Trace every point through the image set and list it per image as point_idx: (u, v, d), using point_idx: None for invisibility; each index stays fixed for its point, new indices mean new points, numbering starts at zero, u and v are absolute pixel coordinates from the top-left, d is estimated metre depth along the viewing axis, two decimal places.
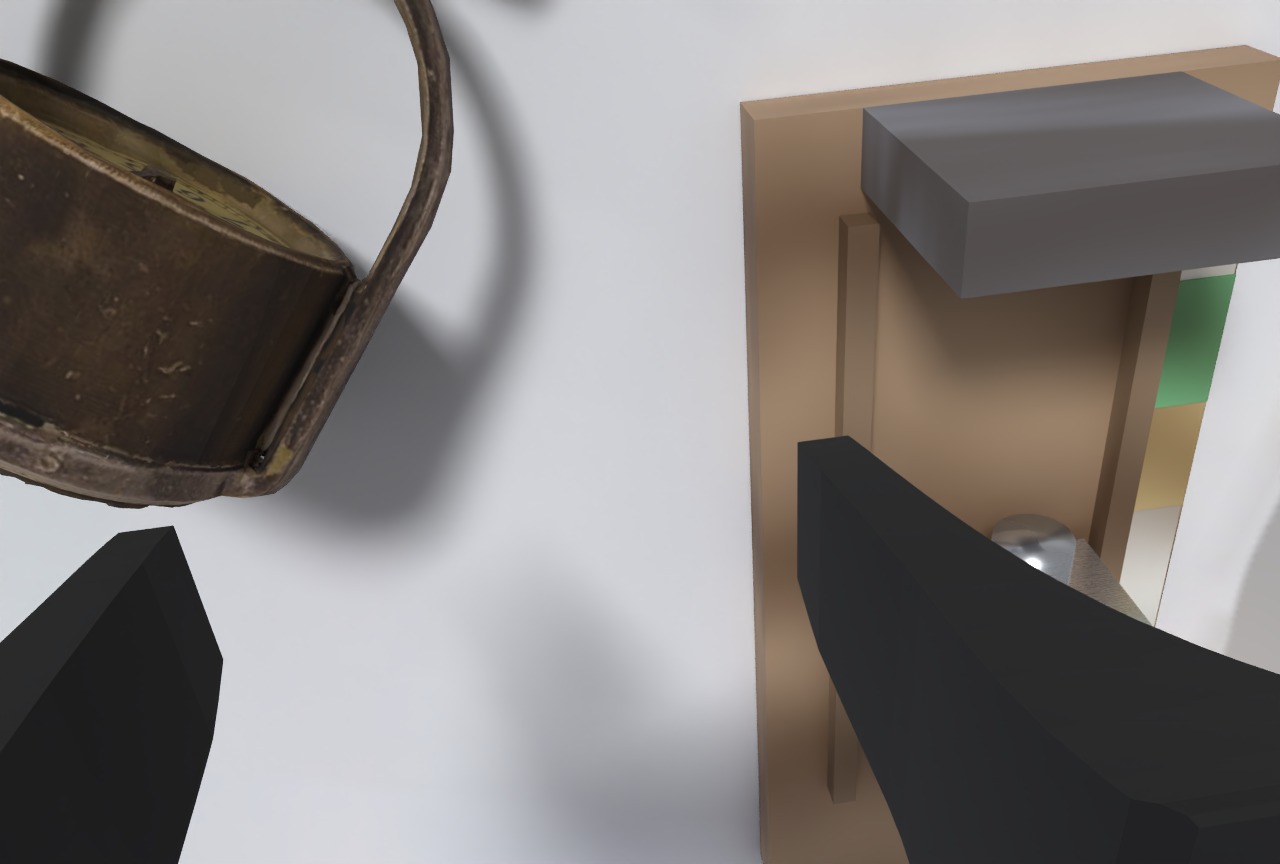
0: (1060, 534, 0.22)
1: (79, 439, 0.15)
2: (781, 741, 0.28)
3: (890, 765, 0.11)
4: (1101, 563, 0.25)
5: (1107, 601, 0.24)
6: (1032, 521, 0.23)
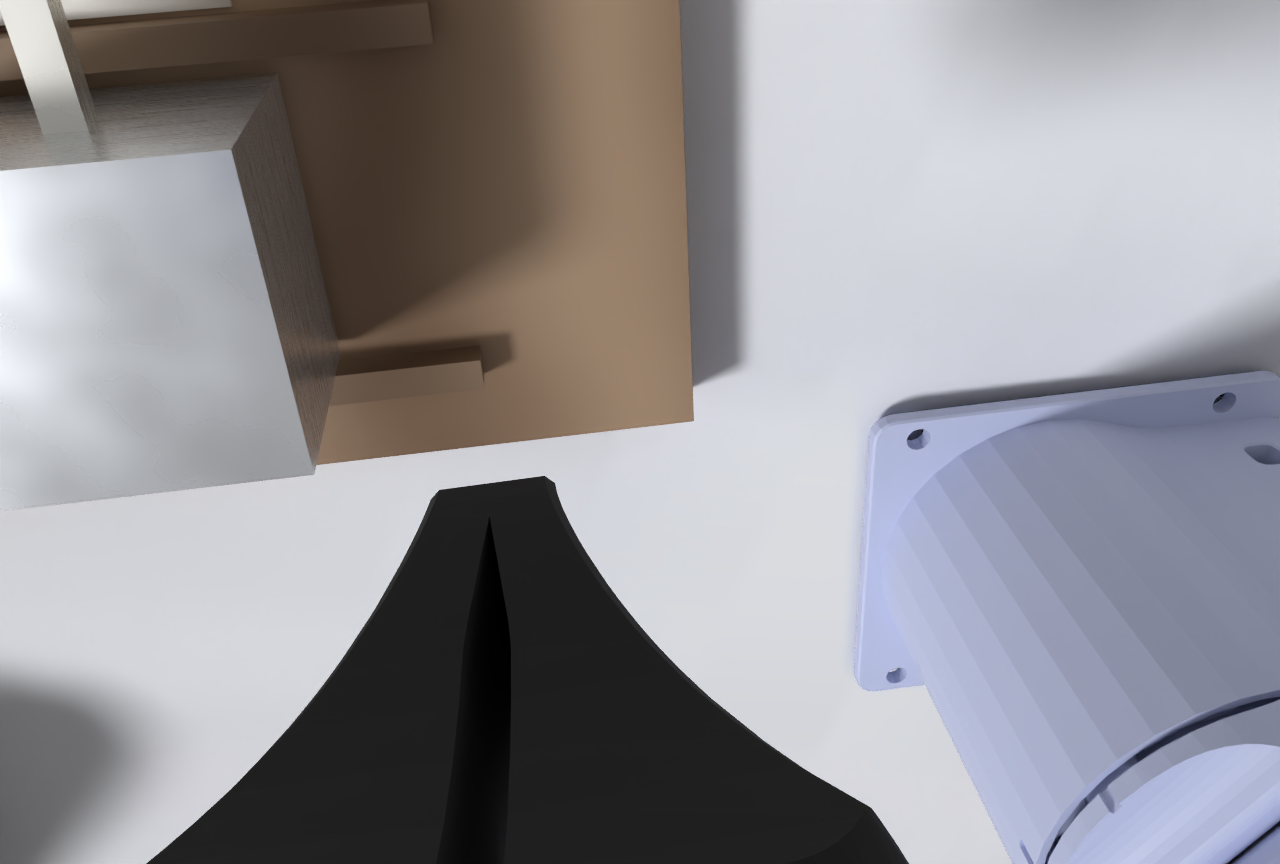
0: None
1: None
2: (390, 439, 0.21)
3: None
4: None
5: None
6: None
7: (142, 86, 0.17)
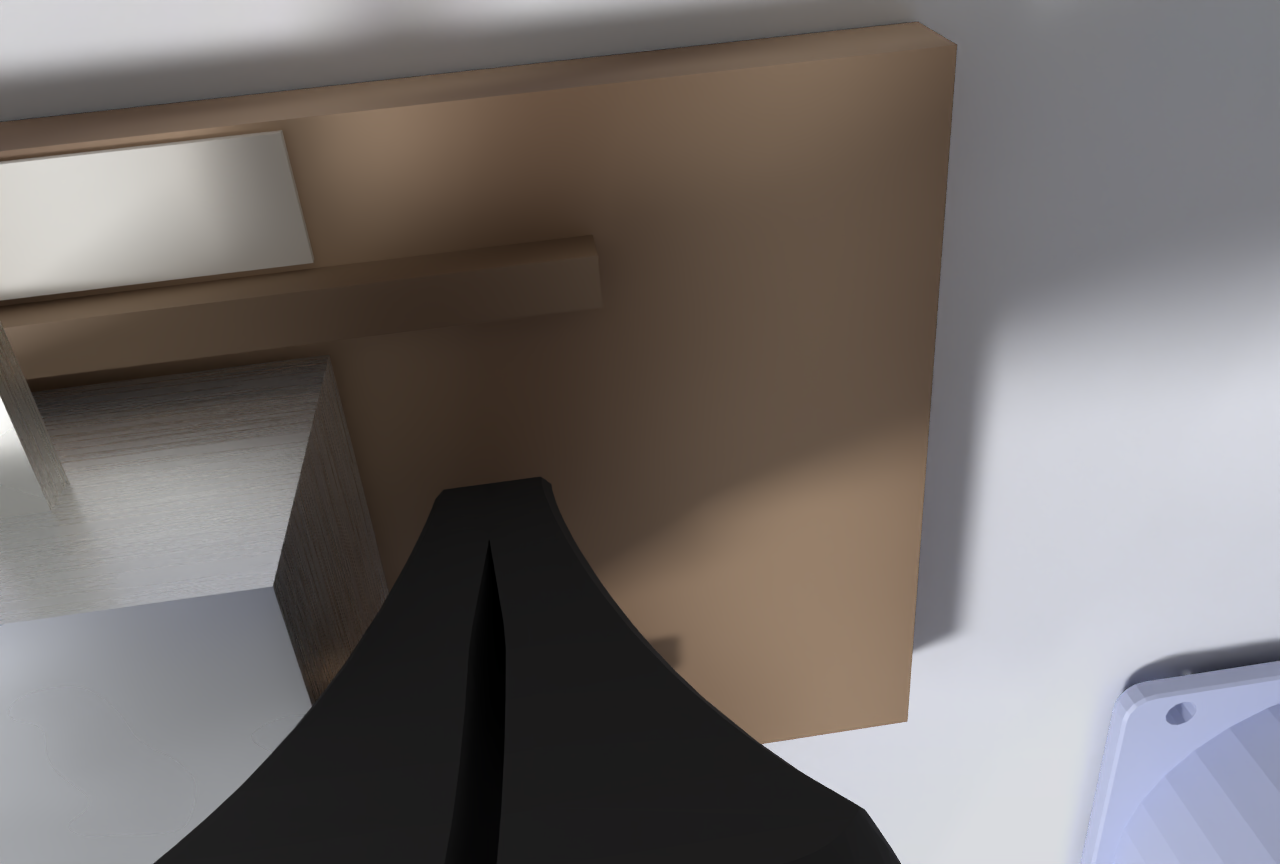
0: None
1: None
2: None
3: None
4: None
5: None
6: None
7: (136, 384, 0.12)
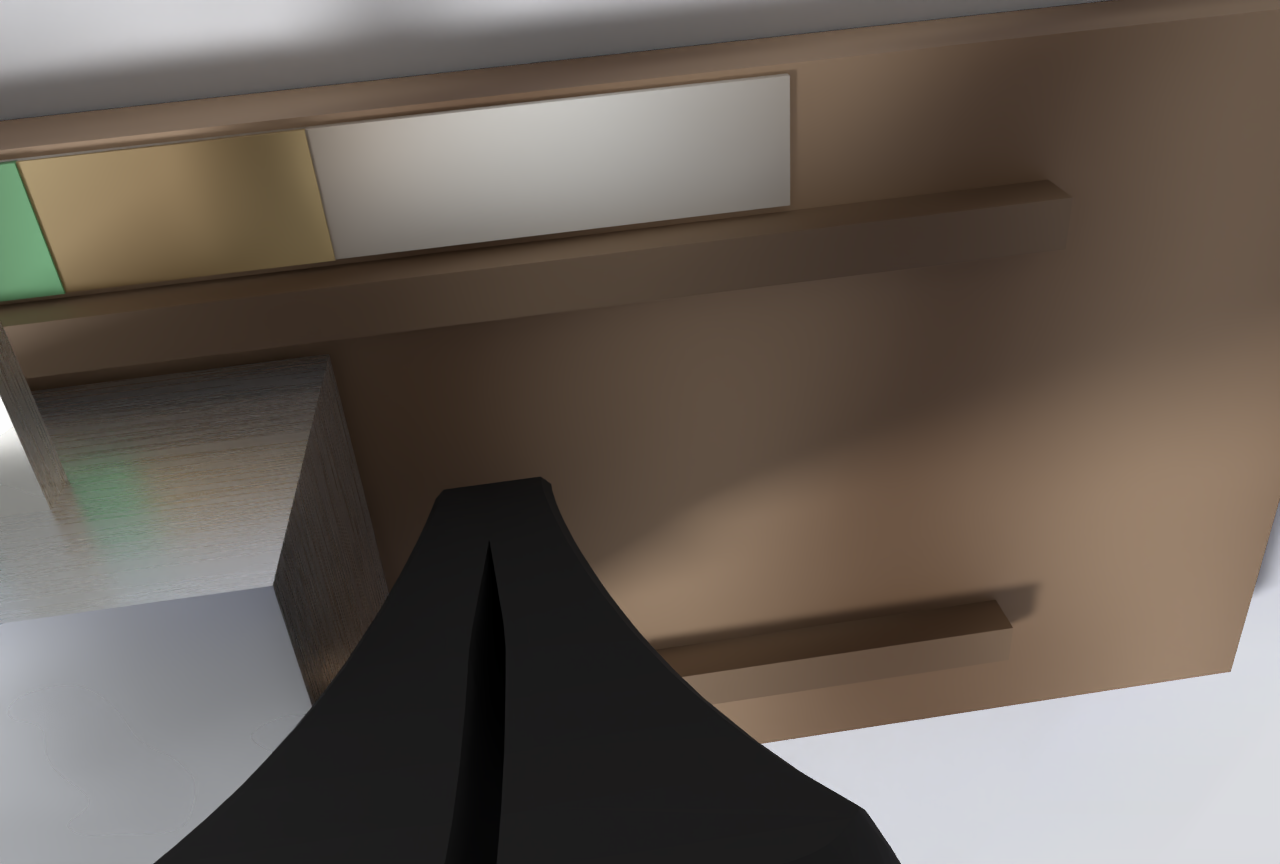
0: None
1: None
2: (857, 711, 0.17)
3: None
4: None
5: None
6: None
7: (135, 383, 0.12)
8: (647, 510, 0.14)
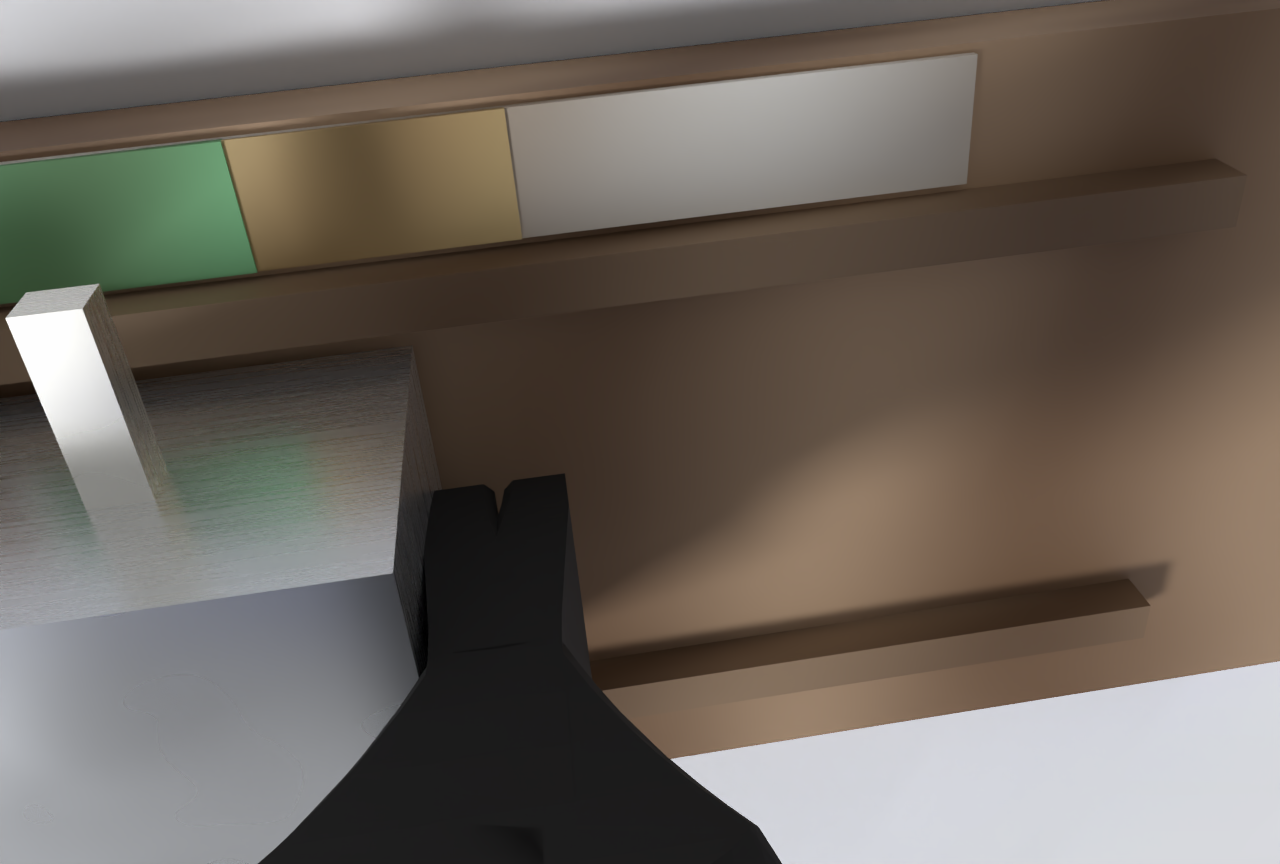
0: None
1: None
2: (985, 690, 0.17)
3: None
4: None
5: None
6: None
7: (221, 375, 0.12)
8: (800, 490, 0.14)
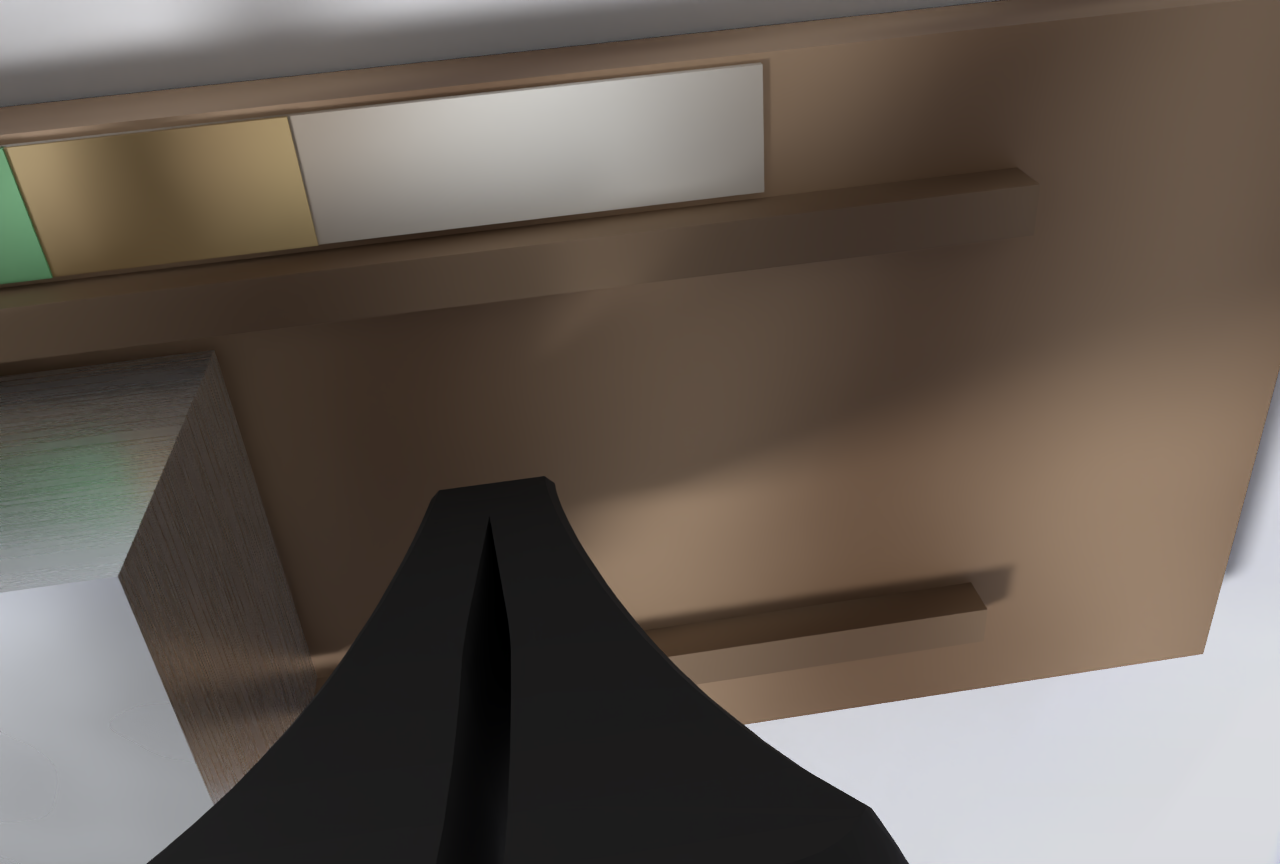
0: None
1: None
2: (835, 692, 0.17)
3: None
4: None
5: None
6: None
7: (21, 379, 0.12)
8: (626, 493, 0.14)
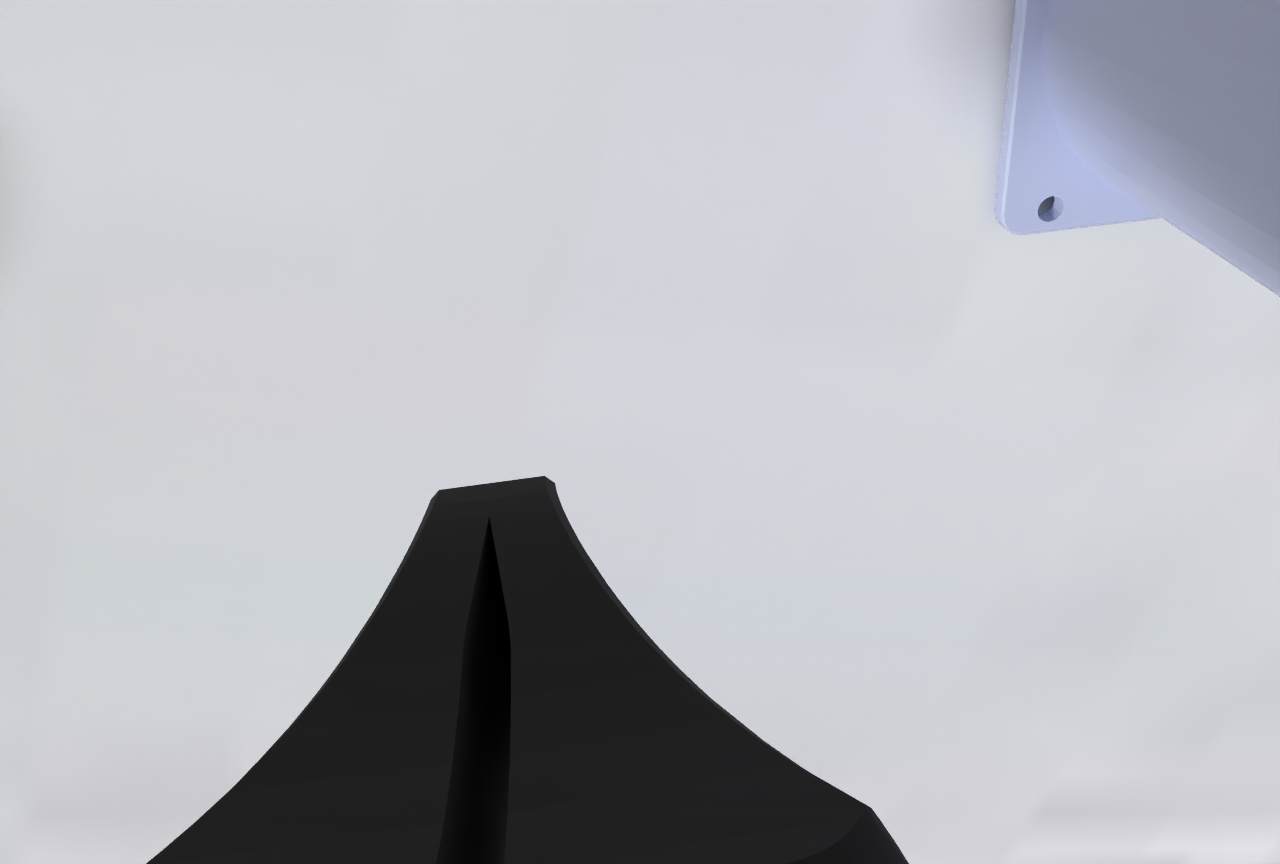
0: None
1: None
2: None
3: None
4: None
5: None
6: None
7: None
8: None
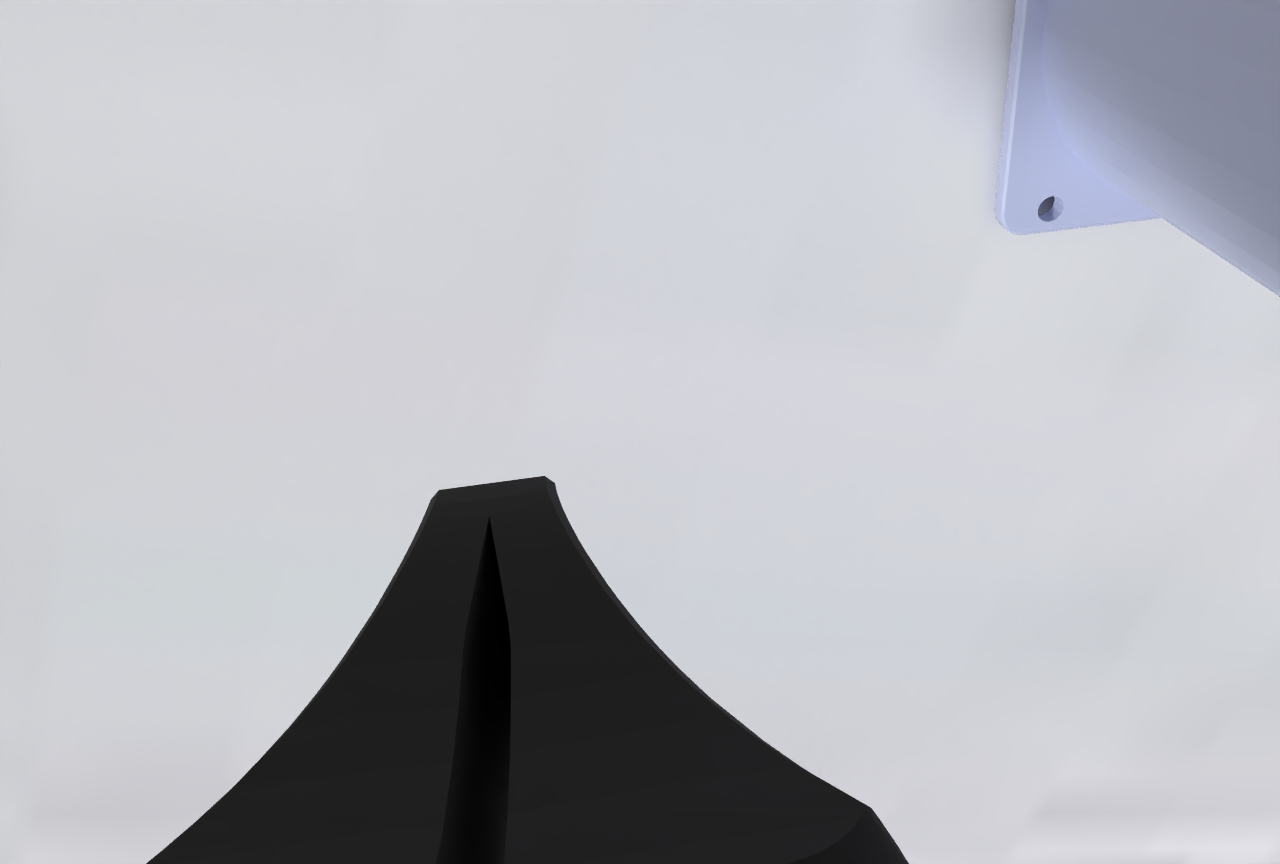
0: None
1: None
2: None
3: None
4: None
5: None
6: None
7: None
8: None
